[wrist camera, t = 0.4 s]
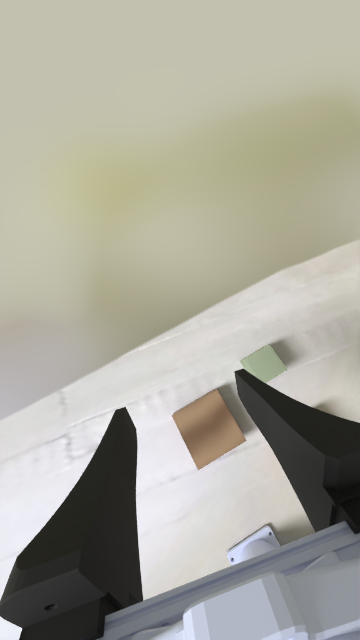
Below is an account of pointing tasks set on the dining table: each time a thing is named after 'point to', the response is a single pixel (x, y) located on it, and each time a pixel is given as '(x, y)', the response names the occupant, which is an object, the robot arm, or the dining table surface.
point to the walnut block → (208, 428)
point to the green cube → (264, 364)
